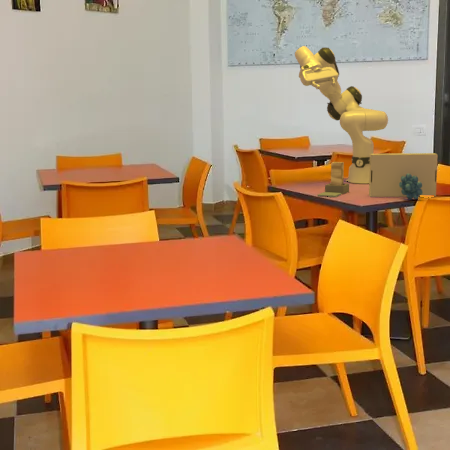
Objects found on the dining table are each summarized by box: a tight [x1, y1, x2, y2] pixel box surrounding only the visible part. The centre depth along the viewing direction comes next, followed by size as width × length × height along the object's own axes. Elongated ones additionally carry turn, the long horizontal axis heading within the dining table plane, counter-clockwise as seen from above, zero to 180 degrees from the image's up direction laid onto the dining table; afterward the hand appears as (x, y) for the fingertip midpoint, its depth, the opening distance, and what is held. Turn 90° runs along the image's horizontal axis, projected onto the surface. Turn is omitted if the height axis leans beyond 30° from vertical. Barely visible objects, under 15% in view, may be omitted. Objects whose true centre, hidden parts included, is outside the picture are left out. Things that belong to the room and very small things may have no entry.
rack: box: [324, 182, 350, 195], centre depth 335 cm, size 8×10×4 cm
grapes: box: [399, 173, 423, 201], centre depth 308 cm, size 12×7×12 cm, turn 48°
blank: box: [330, 161, 345, 186], centre depth 334 cm, size 4×5×15 cm
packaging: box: [368, 152, 439, 198], centre depth 319 cm, size 30×6×20 cm, turn 84°
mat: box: [317, 191, 343, 198], centre depth 326 cm, size 9×9×1 cm
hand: (326, 86), depth 345 cm, fingers open, 8 cm apart
